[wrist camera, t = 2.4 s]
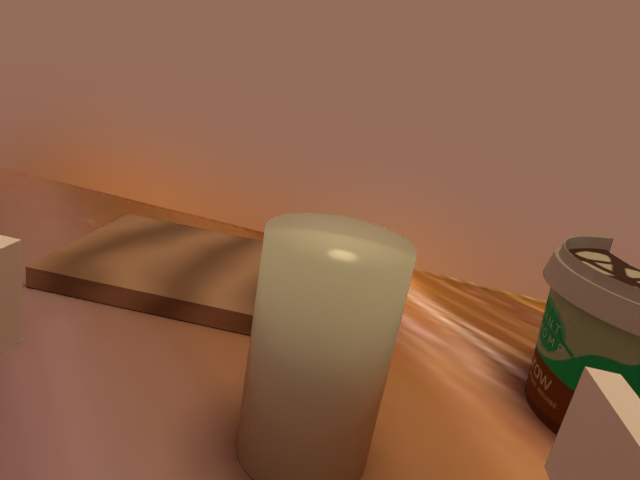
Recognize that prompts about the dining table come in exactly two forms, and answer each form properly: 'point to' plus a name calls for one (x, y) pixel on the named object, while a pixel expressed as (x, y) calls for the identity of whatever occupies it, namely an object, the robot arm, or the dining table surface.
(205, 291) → the walnut board
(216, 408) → the dining table surface
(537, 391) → the food container
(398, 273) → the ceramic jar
